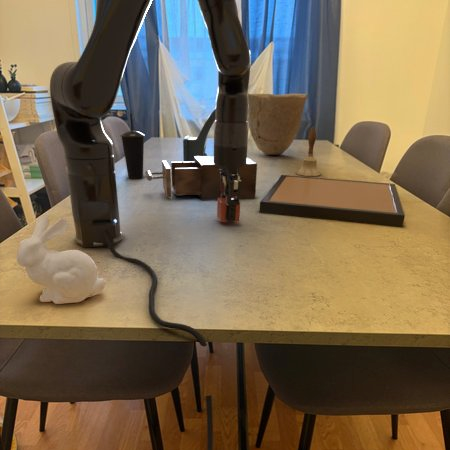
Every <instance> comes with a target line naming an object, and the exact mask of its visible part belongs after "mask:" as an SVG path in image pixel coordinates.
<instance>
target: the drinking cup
mask: <svg viewBox="0 0 450 450" xmlns="http://www.w3.org/2000/svg"><path fill="white" fill-rule="evenodd" d="M129 119H130V130H128V131H127V130H126V131H124V132H123V133H120V137H121V143H122V149H123V153H124V159H125V165H126V171H127V177H128V179H130V180H142V179H144V156H145V155H144V154H145V153H144V152H145V151H144V150H145V149H144V147H145V134H144V133H142V132H140V131H138V130H134V120H133V113H132V112H131V113H129Z"/></svg>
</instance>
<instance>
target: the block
mask: <svg viewBox="0 0 450 450" xmlns="http://www.w3.org/2000/svg"><path fill="white" fill-rule="evenodd" d="M231 200H234V197H232V198H231ZM239 202H240V203H239V205H237V206H236V217H235V221H230V222H228V221H226V198H217V200H216V217H217V219H218V220H219V222H220V223H233V222H234V223H235V222H240V219H241V218H240V217H241V200H240V201H239Z"/></svg>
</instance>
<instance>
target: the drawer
mask: <svg viewBox="0 0 450 450" xmlns="http://www.w3.org/2000/svg"><path fill="white" fill-rule="evenodd" d="M170 166H171V167H170ZM161 168H162V169H161V171H150V170H146V171H145V173H144V174H145V178H146V180H147V181H149V182H151V181H152V180H159V179H160V180H162V188H163V190H164V193H165V196H166V198H168V199H169V198H172V190H173V192H174V194H175V196H193V195H195V196H197V195H198V196H199V195H201V167H200V166H199V164H198V163H197V162H183V161H171V162H170V165H169V163H168V162H167V160H162V161H161Z"/></svg>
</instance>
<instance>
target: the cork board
mask: <svg viewBox="0 0 450 450" xmlns="http://www.w3.org/2000/svg"><path fill="white" fill-rule="evenodd" d="M259 213H261V214H270V215H271V214H272V215H282V216H289V217H290V216H291V217H301V218H309V219H310V218H311V219H318V220H319V219H321V220H331V221H341V222H351V223H352V222H353V223H358V224H370V225H371V224H372V225H379V226H389V227H400V228H403V226H404V222H405V216H406V215H405V211H404V208H403V205H402V202H401V199H400V196H399V192H398V189H397V186H396V183H390V182H377V181H365V180H364V181H363V180H352V179H351V180H350V179H341V178H340V179H339V178H328V177H327V178H326V177H316V176H301V175H290V174H289V175H288V174H280V176H279V177H278V179H277V180H276V181H275V182H274V184H273V185H272V186H271V187H270V189H269V190H268V191H267V192H266V194H265V195H264V196H263V198H262V199H261V200H260V201H259Z"/></svg>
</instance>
